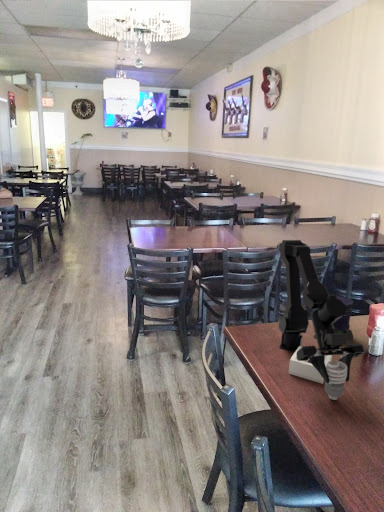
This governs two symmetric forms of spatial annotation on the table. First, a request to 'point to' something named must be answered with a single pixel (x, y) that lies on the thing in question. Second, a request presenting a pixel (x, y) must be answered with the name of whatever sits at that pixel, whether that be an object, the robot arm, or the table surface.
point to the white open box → (306, 368)
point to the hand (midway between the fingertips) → (337, 382)
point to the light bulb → (336, 379)
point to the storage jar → (344, 320)
